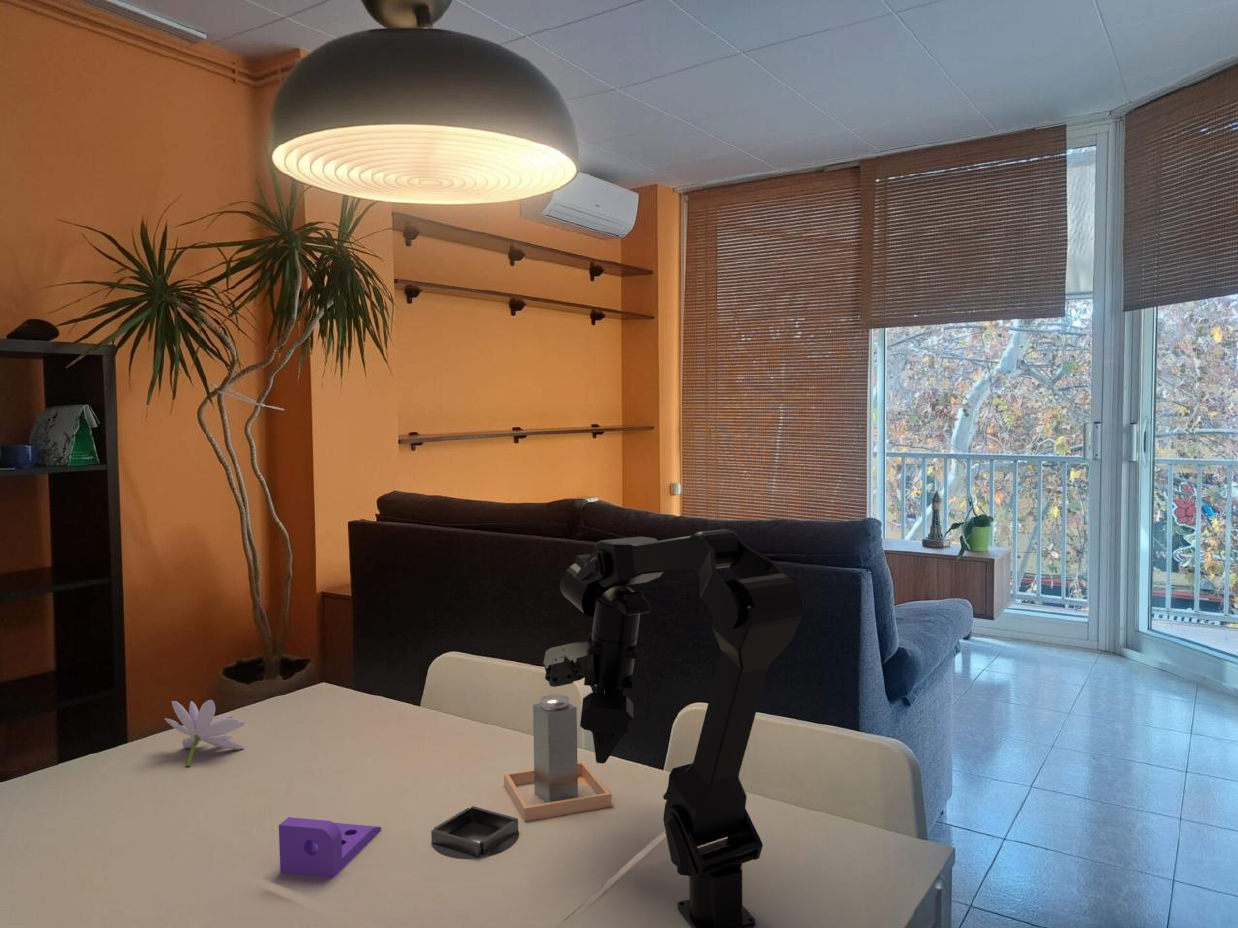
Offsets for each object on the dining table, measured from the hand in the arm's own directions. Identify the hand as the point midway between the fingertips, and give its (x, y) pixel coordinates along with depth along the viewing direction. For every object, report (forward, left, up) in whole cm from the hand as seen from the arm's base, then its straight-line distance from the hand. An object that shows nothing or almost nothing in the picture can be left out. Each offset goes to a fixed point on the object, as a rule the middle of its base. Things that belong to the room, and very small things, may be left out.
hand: (601, 741), depth 114 cm
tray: (+10, +3, -12) cm, 16 cm away
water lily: (+48, +51, -12) cm, 71 cm away
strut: (+10, +3, -11) cm, 16 cm away
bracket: (+6, +33, -12) cm, 36 cm away
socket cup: (+2, +16, -12) cm, 20 cm away
